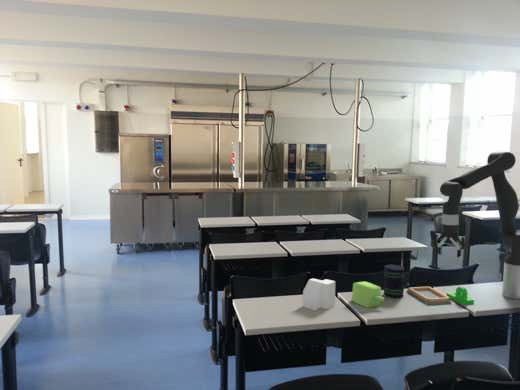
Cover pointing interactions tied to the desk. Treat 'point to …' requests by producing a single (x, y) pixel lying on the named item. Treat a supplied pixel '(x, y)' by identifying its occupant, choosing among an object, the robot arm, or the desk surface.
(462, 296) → the mechanical part
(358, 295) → the gearbox
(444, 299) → the fitting jig
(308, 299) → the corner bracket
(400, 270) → the storage jar
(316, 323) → the desk surface
